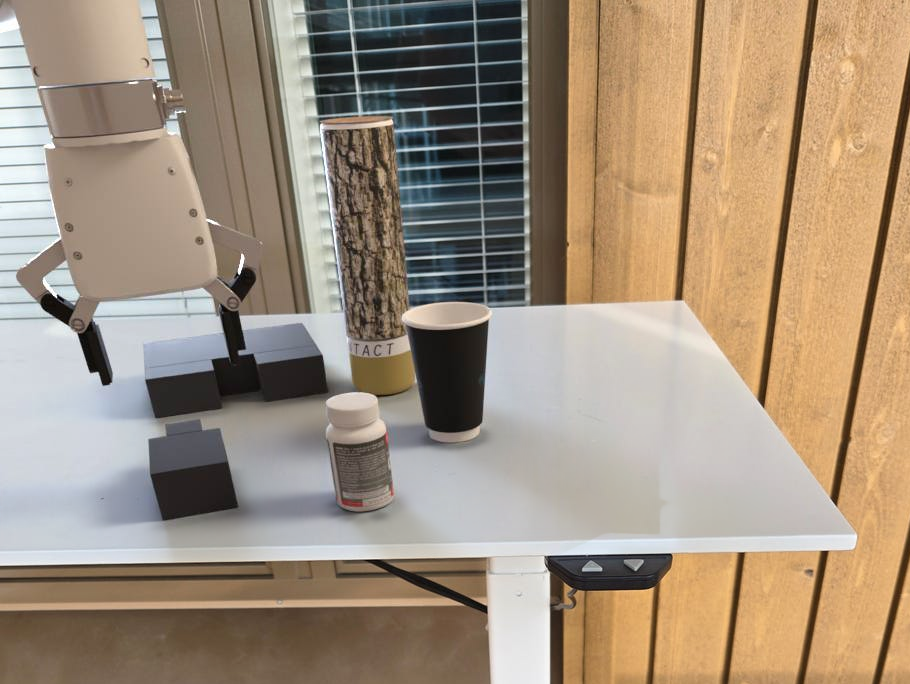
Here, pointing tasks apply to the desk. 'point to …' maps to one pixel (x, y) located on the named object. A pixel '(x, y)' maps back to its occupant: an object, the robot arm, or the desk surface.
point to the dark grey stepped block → (190, 471)
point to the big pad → (232, 369)
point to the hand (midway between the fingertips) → (172, 370)
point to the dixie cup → (450, 366)
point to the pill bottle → (358, 452)
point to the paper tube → (369, 249)
